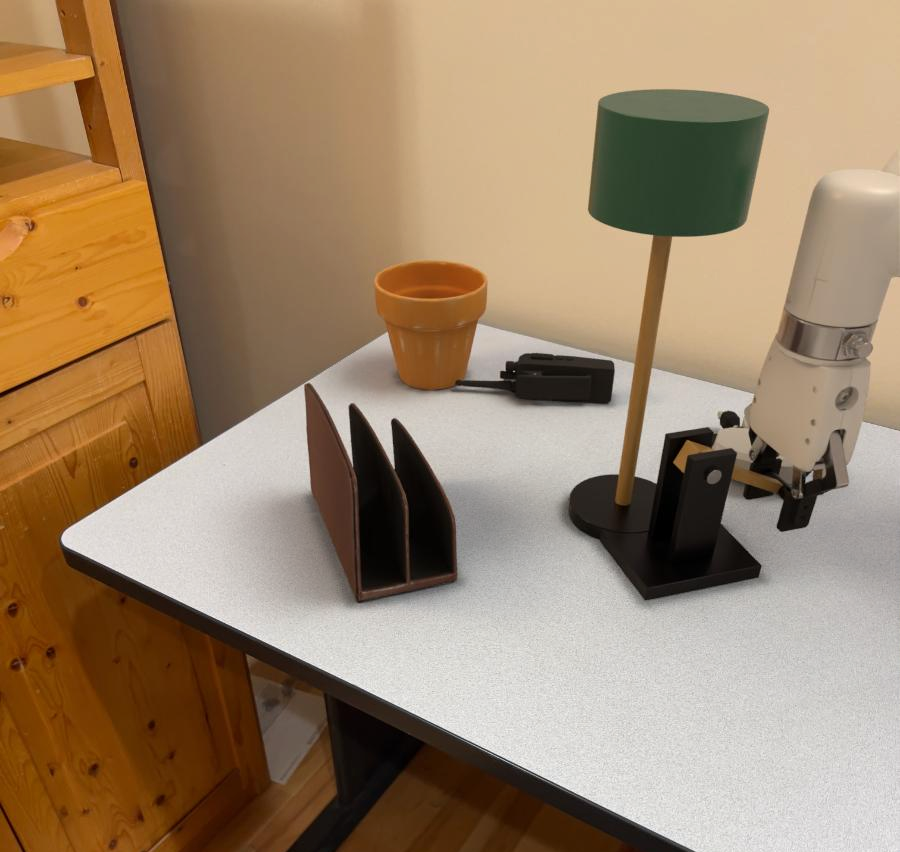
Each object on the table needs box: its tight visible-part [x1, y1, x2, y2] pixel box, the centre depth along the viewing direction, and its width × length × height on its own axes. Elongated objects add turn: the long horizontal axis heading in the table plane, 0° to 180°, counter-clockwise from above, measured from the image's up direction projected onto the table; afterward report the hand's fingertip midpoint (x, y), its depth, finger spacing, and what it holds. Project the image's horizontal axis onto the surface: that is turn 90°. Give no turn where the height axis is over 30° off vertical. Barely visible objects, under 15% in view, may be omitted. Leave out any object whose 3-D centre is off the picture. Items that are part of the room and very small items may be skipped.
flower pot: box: [373, 259, 488, 391], centre depth 114 cm, size 14×14×13 cm
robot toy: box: [710, 410, 813, 485], centre depth 99 cm, size 12×4×15 cm
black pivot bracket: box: [599, 426, 763, 602], centre depth 82 cm, size 12×10×13 cm
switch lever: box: [673, 440, 792, 502], centre depth 82 cm, size 13×5×2 cm, turn 108°
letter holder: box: [303, 382, 458, 604], centre depth 85 cm, size 10×20×14 cm, turn 19°
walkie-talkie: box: [455, 352, 616, 403], centre depth 112 cm, size 6×6×20 cm
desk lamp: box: [567, 88, 770, 541], centre depth 80 cm, size 13×13×38 cm
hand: (774, 510), depth 86 cm, fingers closed on switch lever, 5 cm apart
